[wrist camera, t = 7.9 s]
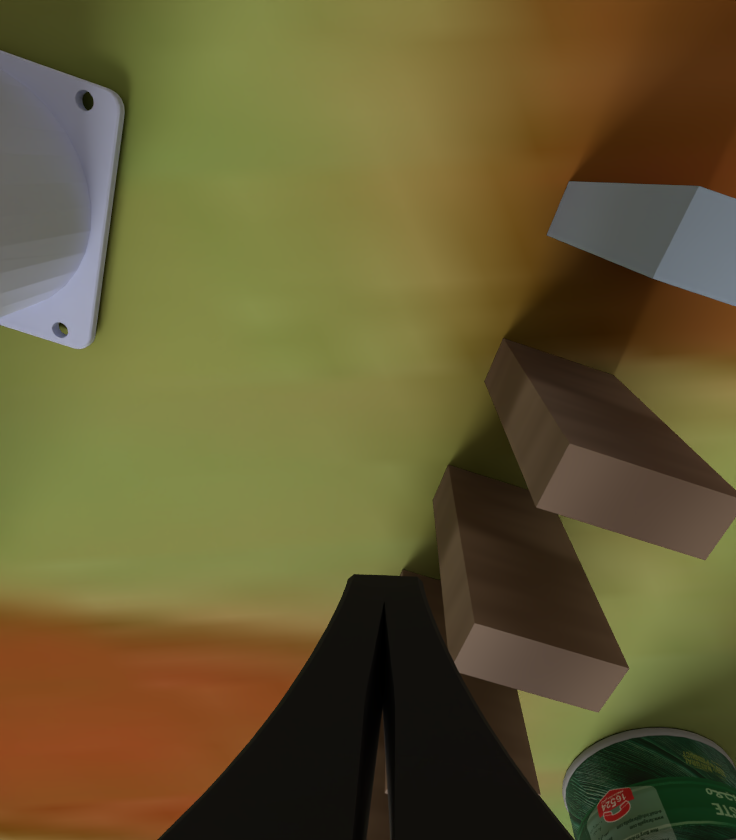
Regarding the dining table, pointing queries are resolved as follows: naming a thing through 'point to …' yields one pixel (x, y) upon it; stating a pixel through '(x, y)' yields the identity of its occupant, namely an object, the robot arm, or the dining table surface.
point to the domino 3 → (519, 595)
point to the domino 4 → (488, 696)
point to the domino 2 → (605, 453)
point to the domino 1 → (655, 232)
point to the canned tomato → (652, 788)
